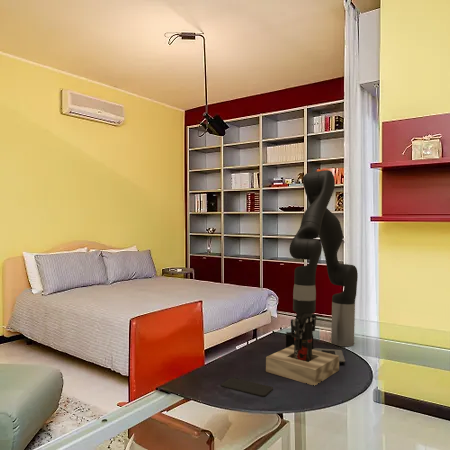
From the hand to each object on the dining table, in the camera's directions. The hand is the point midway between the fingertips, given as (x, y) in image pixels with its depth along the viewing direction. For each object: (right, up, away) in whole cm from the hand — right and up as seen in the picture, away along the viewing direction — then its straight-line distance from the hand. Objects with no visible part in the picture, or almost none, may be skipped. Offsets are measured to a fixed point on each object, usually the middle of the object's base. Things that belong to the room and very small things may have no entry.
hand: (303, 346), depth 141 cm
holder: (0, -8, 0) cm, 8 cm away
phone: (-20, -9, -15) cm, 26 cm away
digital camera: (+2, -8, +21) cm, 23 cm away
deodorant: (0, -7, 0) cm, 7 cm away
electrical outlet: (+12, -9, +13) cm, 20 cm away
